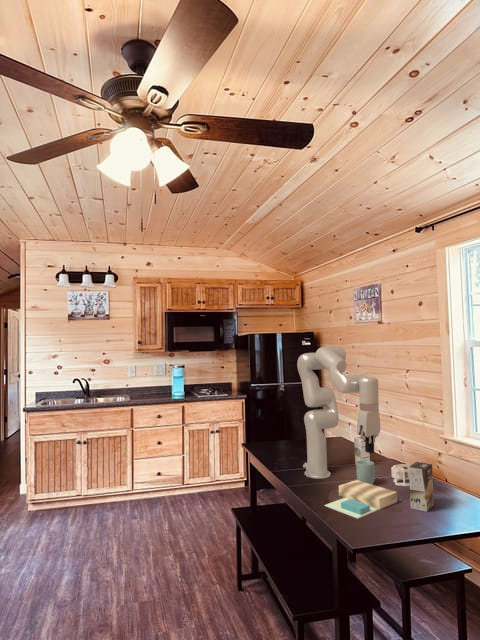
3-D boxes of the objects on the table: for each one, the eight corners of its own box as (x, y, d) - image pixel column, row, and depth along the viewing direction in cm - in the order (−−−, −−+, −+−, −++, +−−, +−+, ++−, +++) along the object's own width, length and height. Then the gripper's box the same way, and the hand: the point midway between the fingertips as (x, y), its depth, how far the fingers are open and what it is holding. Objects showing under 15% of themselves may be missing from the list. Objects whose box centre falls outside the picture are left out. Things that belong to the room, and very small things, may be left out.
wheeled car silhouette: (425, 476, 203) (424, 460, 204) (439, 483, 192) (438, 467, 193) (386, 479, 200) (385, 463, 201) (398, 487, 189) (397, 470, 190)
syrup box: (370, 466, 220) (369, 438, 221) (361, 468, 218) (360, 439, 219) (363, 463, 225) (362, 436, 226) (354, 465, 223) (353, 437, 224)
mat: (324, 506, 169) (324, 505, 169) (344, 498, 176) (344, 497, 176) (357, 518, 156) (357, 517, 156) (378, 510, 163) (378, 509, 163)
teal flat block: (350, 498, 169) (350, 504, 169) (340, 502, 165) (341, 507, 165) (369, 505, 162) (369, 510, 162) (360, 509, 158) (360, 514, 158)
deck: (338, 495, 180) (338, 485, 180) (356, 489, 187) (356, 479, 187) (379, 509, 164) (379, 499, 164) (397, 502, 171) (396, 491, 171)
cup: (363, 488, 188) (362, 465, 189) (353, 482, 195) (353, 460, 196) (378, 486, 190) (377, 463, 191) (368, 481, 198) (367, 459, 198)
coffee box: (427, 512, 160) (425, 469, 161) (410, 508, 164) (408, 466, 165) (434, 505, 167) (432, 463, 168) (417, 501, 171) (415, 461, 172)
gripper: (372, 404, 181) (372, 447, 180) (350, 408, 172) (350, 453, 171) (387, 406, 175) (388, 451, 174) (365, 410, 166) (366, 458, 165)
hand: (369, 452), depth 173 cm, fingers closed
